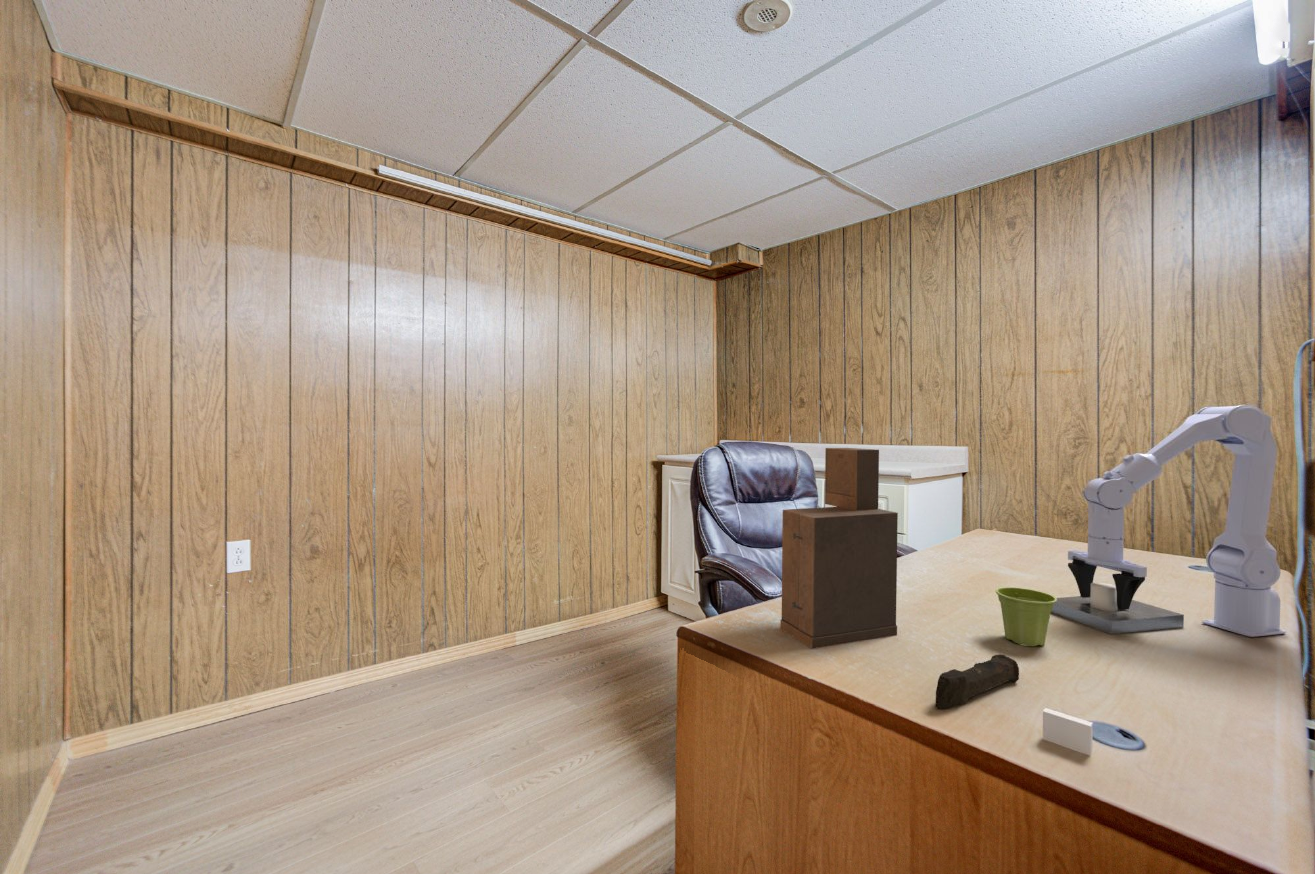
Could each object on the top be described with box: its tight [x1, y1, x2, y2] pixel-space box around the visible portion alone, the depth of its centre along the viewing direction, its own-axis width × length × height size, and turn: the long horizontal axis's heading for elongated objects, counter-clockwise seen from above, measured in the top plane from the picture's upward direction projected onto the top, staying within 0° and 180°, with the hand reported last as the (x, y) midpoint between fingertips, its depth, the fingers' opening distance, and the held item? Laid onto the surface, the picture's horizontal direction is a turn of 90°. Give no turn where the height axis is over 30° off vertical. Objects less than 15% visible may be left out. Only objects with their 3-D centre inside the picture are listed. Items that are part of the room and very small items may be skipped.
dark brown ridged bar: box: [934, 653, 1020, 710], centre depth 82 cm, size 19×4×5 cm, turn 119°
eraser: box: [1041, 707, 1094, 756], centre depth 68 cm, size 1×5×4 cm, turn 43°
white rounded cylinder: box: [1090, 582, 1118, 613], centre depth 114 cm, size 4×4×7 cm
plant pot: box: [995, 586, 1058, 647], centre depth 102 cm, size 9×9×9 cm
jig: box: [1050, 595, 1185, 635], centre depth 114 cm, size 18×14×2 cm
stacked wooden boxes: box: [779, 447, 899, 649], centre depth 107 cm, size 19×14×35 cm
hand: (1104, 602), depth 114 cm, fingers open, 7 cm apart
